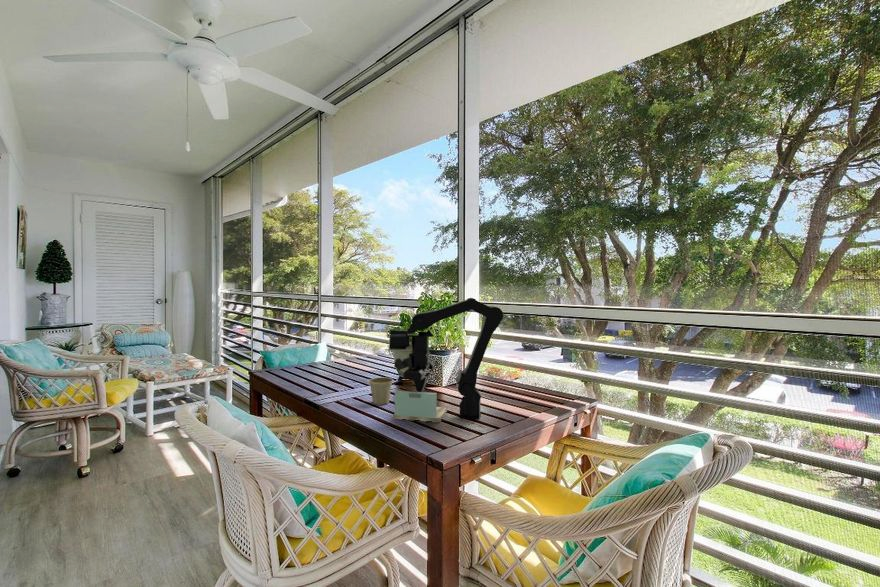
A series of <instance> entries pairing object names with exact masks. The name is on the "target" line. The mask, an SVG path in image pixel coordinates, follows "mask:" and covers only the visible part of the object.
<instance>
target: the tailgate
mask: <svg viewBox="0 0 880 587" xmlns="http://www.w3.org/2000/svg"><path fill="white" fill-rule="evenodd" d="M437 398H438V397H437V392H428V391H427V392H426V391H425V392H424V391H423V392H417V391H412V390H411V391H410V390H409V391H408V390H395V391H394V413H395V415H400V416H412V417H424V418H436V416H437V407H438V406H437V404H438V403H437Z"/></svg>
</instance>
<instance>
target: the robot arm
mask: <svg viewBox="0 0 880 587" xmlns="http://www.w3.org/2000/svg"><path fill="white" fill-rule="evenodd" d="M469 311H473V312H476V314H477V313H478V314H479V315H481V316H482V319H481V327H480V331H479V334H478V336H477V339H476V342H475V343H474V346H473V348H472V351H471V354H470V357H469V359H468V362H467V364H466V366H465V368H464V369H463V370H462V369H461V368H460V369H459V370H458V374H457V376H456V378H455V382H456V384H455V385H456V388H457V390H458V394H460V395H461V396H462V397H461V401H460V402H459V418H460V419H466V420H468V419H469V420H480V418H481V415H482V412H481V404H482V403H481V402H482V401H481V399H482V395H481V393H480V391H479V389H478V388H477V387H476V386H477V379H478V371H479V369H480V367H481V363H482V361H483V359H484V356H485V353H486V351H487V348H488V346H489V343H490V341H491V339H492V336H493V334H494V333H495V331H496V330H497V329H498V327H499V326H500V324H501V322H502V321H503V319H504V312H503V311H502V309H501V308H500V307H497V306H496V305H495V306H494V305H487V304H485V303H482V302H480V301H478V300H477V299H475V298H473V297H469V298H466V299H464V300H461V301H459V302H456V303H453V304H450V305H447V306H444V307H441V308H438V309H434V310H428V311H427V310H426V311H422V312H421V311H420V312H416V313H414V315H413V316H412V318H411V324H410V325H409V326H408V327H407V329H391V330H390V335H389V337H390V338H389V350H390V351H395V350H396V351H397V350H398V351H399V350H400V351H401V350H402V351H403V350H404V351H406V350H407V349H408V347H410V338H411V352H409V353H408V356H407V357H404V358H402V357H399V358H396V359H395V362H393V363H394V365H393V366H394V368H395V369H396V370H397V371H401V370H403V369H406V368H408V369H406V370H405V371H404V372H403V373H402V379H403V380H409V381H410V380H411V381H413V382H414V386H415V390H416V392H424V390H425V388H426V385H427V382H428V380H429V378H430V376H431V373H430V372H427V370H431V371H434V370H435V369H436V366H435V365H436V364H435V363H434V361H433V360H432V361H431V360H429V356H430V355H431V354H430V353H431V351H429V338H434V336H435V335H434V333H433V332H432V331H431V329H428V328H430V327H432V326H433V325H436V323H438V322H440V321H443V320H445V319H449V318H451V317H455V316H457V315H461V314H463V313H465V312H469ZM427 329H428V330H427ZM425 330H427V331H425ZM416 332H417V333H416ZM397 371H396V372H397Z"/></svg>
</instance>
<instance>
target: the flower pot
mask: <svg viewBox="0 0 880 587" xmlns="http://www.w3.org/2000/svg"><path fill="white" fill-rule="evenodd" d="M393 382H394V379H393V378H390V377H373V378H370V379H368V383H369V386H370V390H371V399H372V403H373V404H374V405H384V404H386V405H387V404H389V403H390V398H391V391H392V385H393Z"/></svg>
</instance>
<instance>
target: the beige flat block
mask: <svg viewBox="0 0 880 587" xmlns="http://www.w3.org/2000/svg"><path fill="white" fill-rule="evenodd" d="M446 412H448V407H443V406H437V416H436V418H424V417H412V416H400V415H395V412H394V413H393V417H392V418H394V419H393V420H402V419H406V420H405V421H414V420H420V421H419V422H426V421H432V422H431V423H438V422H440V423H441V421H442V420H443V419H444V417H445V416H444V415H446V414H447V413H446ZM445 413H446V414H445ZM443 416H444V417H443ZM441 419H442V420H441Z"/></svg>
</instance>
